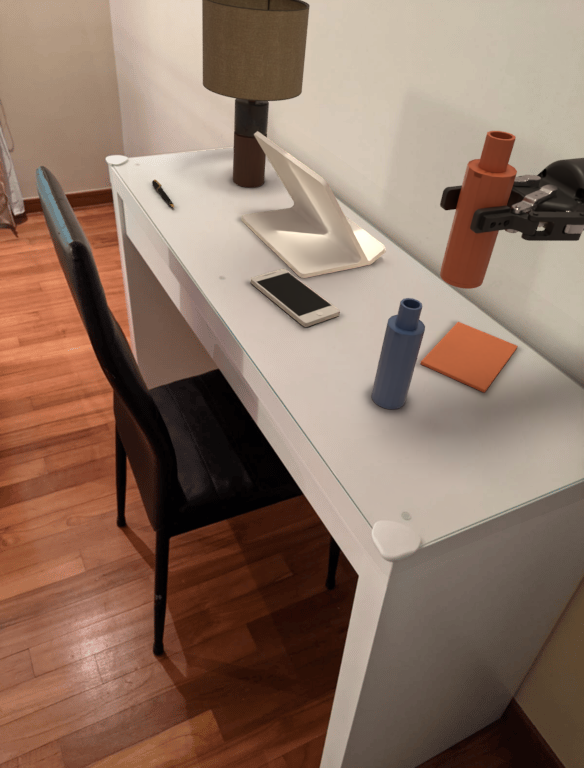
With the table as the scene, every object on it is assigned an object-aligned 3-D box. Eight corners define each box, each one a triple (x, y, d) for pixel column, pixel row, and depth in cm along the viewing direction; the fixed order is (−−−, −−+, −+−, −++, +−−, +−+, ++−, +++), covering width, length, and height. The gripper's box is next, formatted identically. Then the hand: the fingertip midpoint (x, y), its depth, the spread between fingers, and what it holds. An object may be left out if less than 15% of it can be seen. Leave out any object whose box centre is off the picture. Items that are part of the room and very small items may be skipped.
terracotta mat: (516, 348, 95) (517, 345, 94) (484, 393, 85) (485, 390, 85) (457, 324, 99) (458, 321, 98) (420, 363, 89) (420, 361, 89)
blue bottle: (410, 396, 83) (436, 303, 74) (395, 414, 80) (420, 318, 71) (381, 382, 85) (403, 289, 76) (365, 399, 82) (385, 304, 73)
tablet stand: (301, 278, 105) (312, 182, 95) (239, 219, 122) (242, 131, 111) (386, 261, 113) (404, 170, 102) (317, 207, 129) (326, 124, 119)
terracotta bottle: (491, 280, 66) (536, 138, 56) (466, 293, 63) (509, 147, 54) (456, 262, 68) (493, 124, 59) (431, 275, 66) (466, 132, 56)
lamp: (195, 166, 141) (193, -12, 119) (278, 164, 147) (291, -7, 125) (213, 202, 127) (214, 7, 105) (304, 198, 133) (324, 12, 110)
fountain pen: (177, 210, 122) (177, 203, 121) (171, 211, 122) (171, 204, 121) (155, 183, 132) (155, 176, 131) (150, 184, 131) (149, 177, 130)
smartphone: (304, 327, 94) (305, 322, 93) (249, 282, 103) (249, 277, 102) (340, 315, 97) (341, 310, 97) (283, 272, 106) (284, 267, 106)
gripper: (556, 135, 68) (427, 146, 62) (658, 185, 58) (516, 203, 52) (534, 200, 73) (412, 215, 67) (625, 256, 63) (492, 279, 57)
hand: (459, 210), depth 60 cm, fingers closed on terracotta bottle, 4 cm apart
